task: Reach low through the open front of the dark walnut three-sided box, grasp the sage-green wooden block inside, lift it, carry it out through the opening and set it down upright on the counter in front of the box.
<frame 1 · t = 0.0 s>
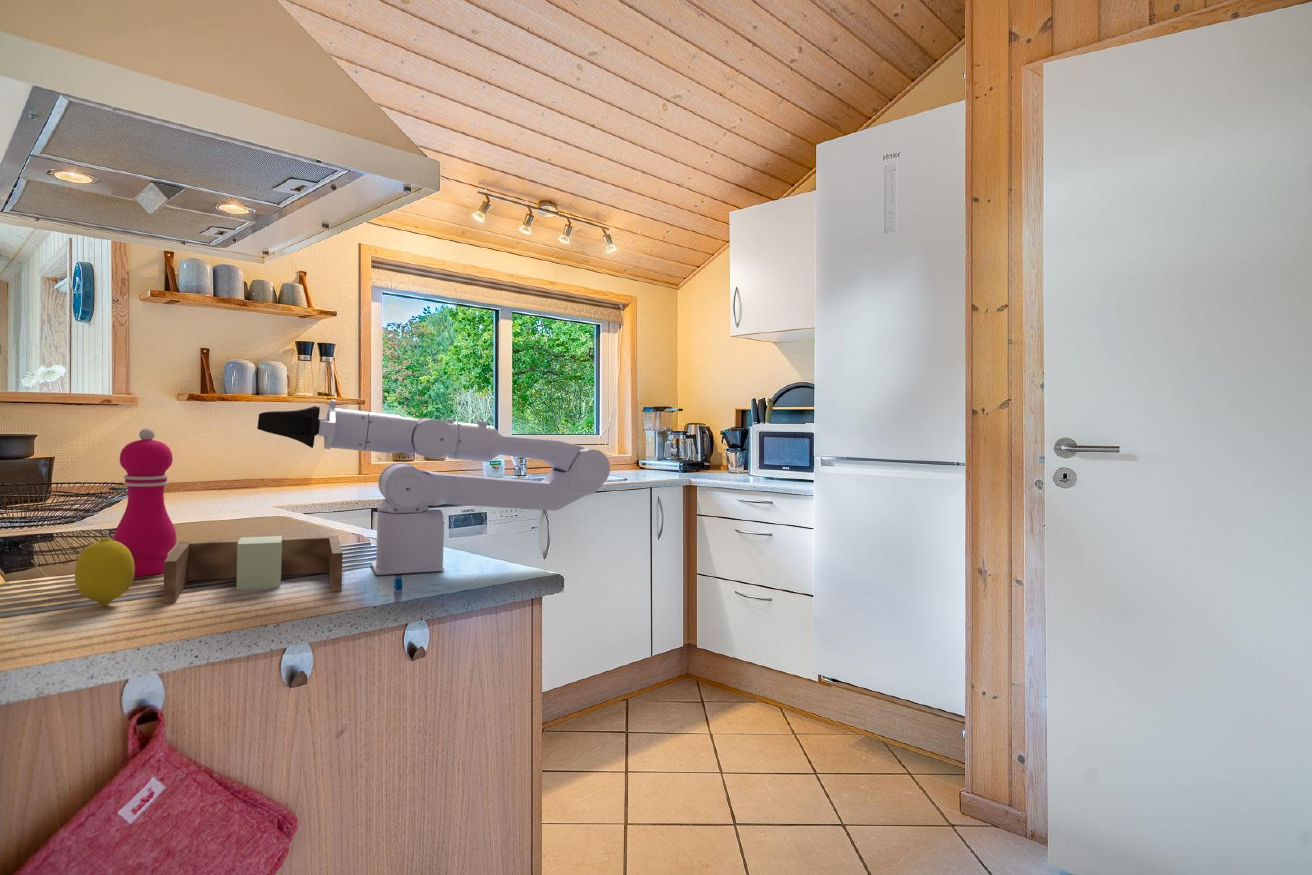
hand: (259, 420, 98), 22 cm above the countertop, tool horizontal, fingers open, 7 cm apart
pepper mill: (144, 573, 100), on the countertop
lemon: (104, 607, 83), on the countertop
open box: (259, 582, 96), on the countertop
block: (259, 584, 96), on the countertop
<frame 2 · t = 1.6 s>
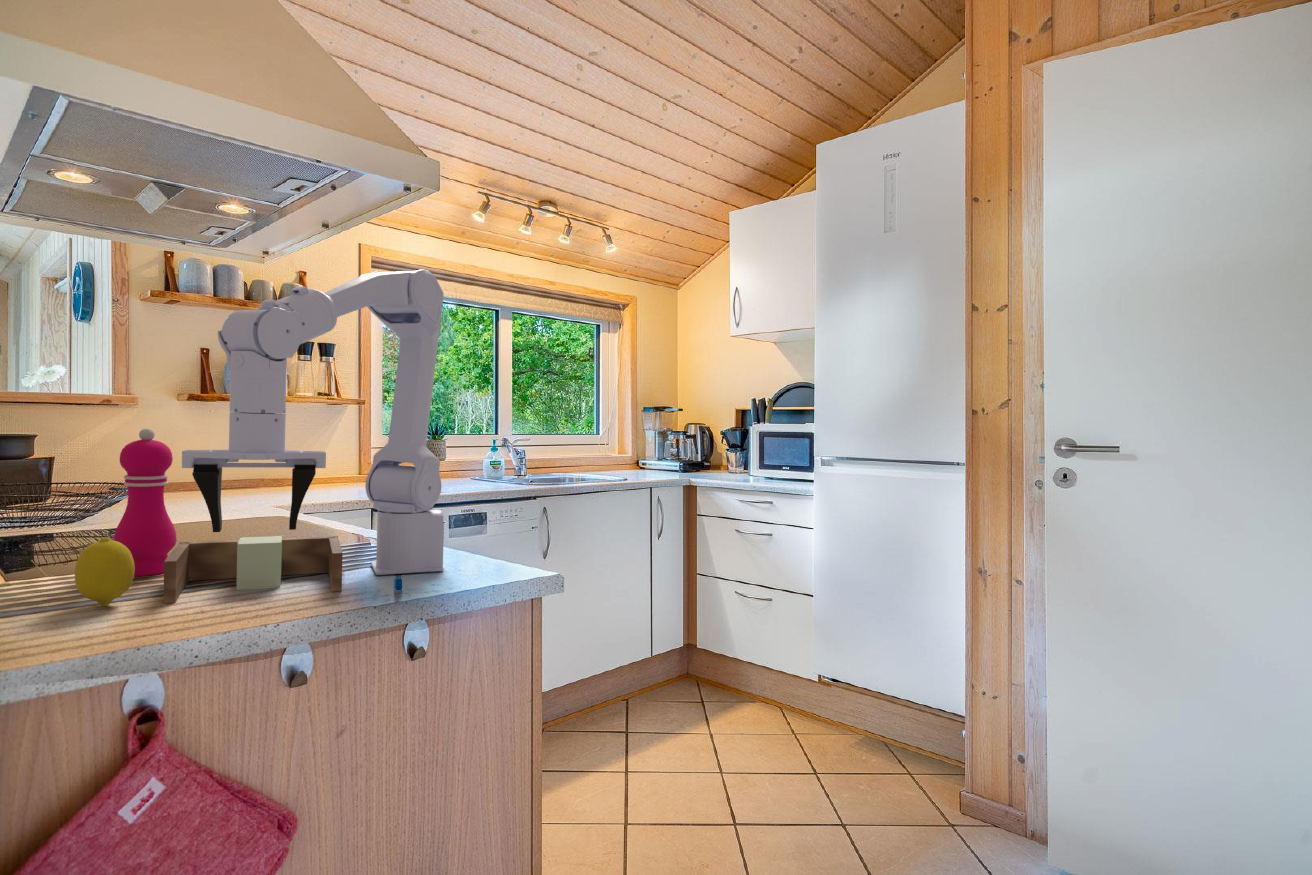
hand: (255, 529, 84), 9 cm above the countertop, tool pointing down, fingers open, 7 cm apart
nothing on the countertop moved.
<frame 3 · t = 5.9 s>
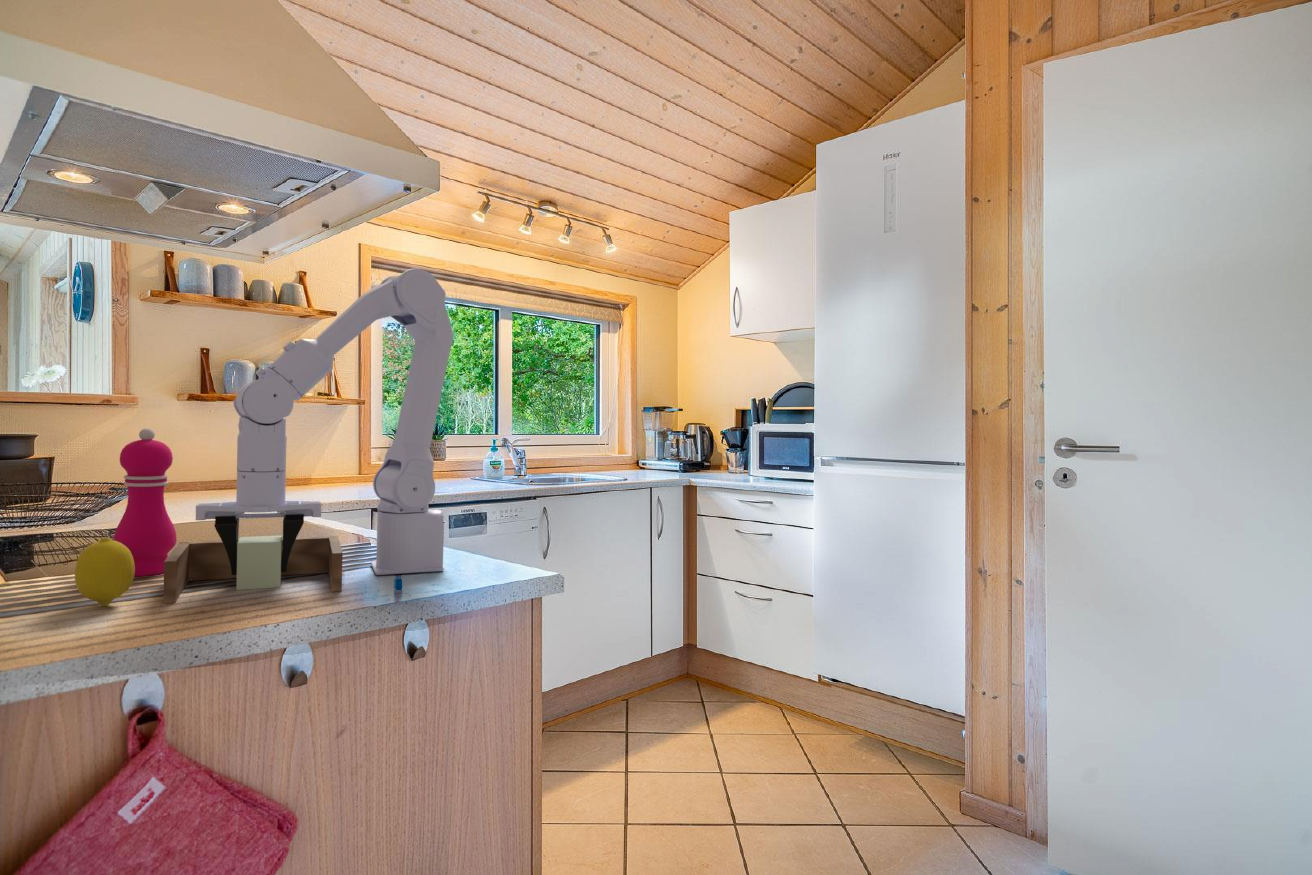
hand: (259, 571, 95), 2 cm above the countertop, tool pointing down, fingers closed on block, 5 cm apart
block: (259, 584, 96), on the countertop, touching gripper
everything else where it was.
when the fingers open (3 cm above the countertop, at t = 13.6 s): block drops 1 cm, on the countertop.
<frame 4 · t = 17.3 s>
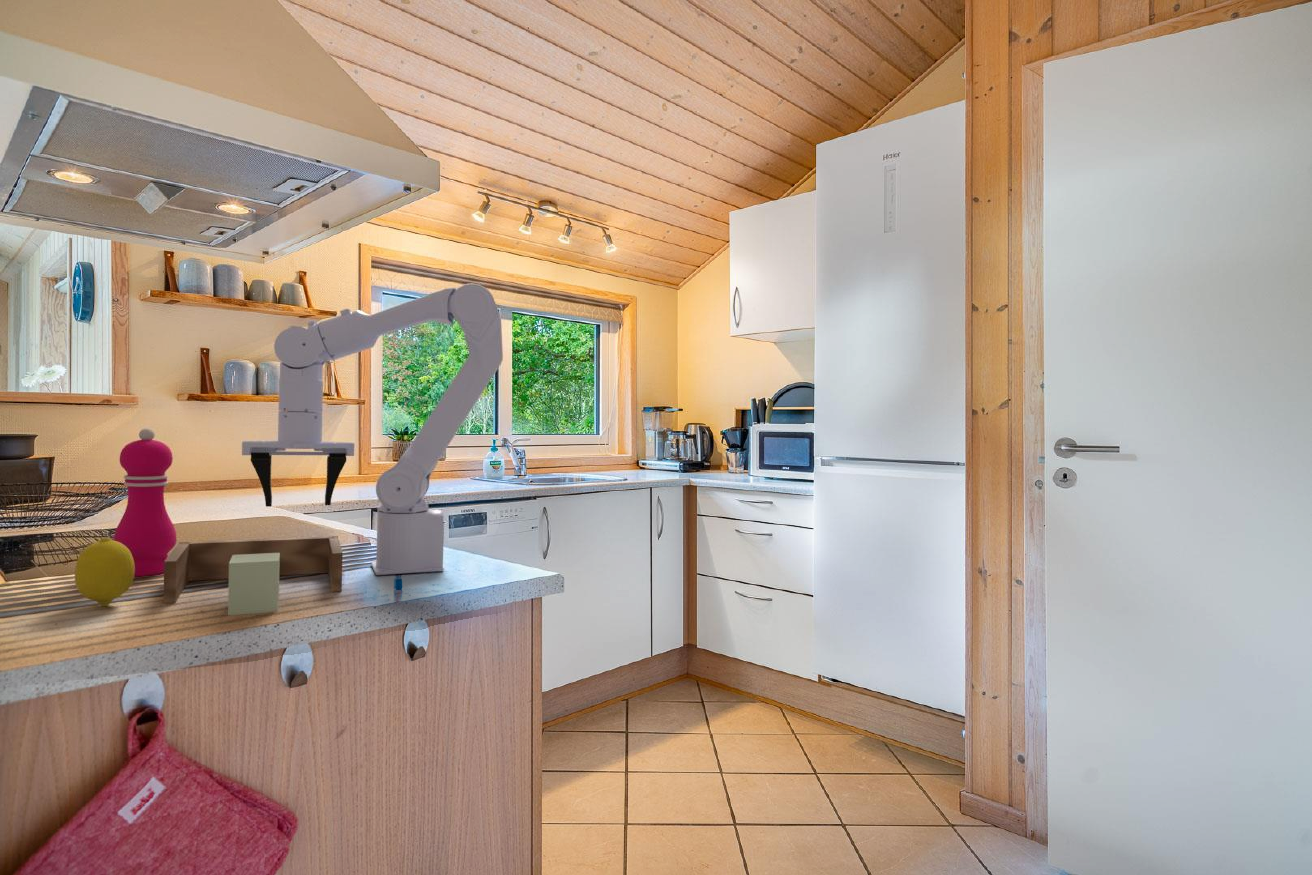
hand: (298, 505, 104), 9 cm above the countertop, tool pointing down, fingers open, 7 cm apart
block: (254, 608, 85), on the countertop
everything else where it was.
at the end: block inside the target area (0.5 cm from its centre), on the countertop; block tilted 0°; the gripper is holding nothing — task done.
